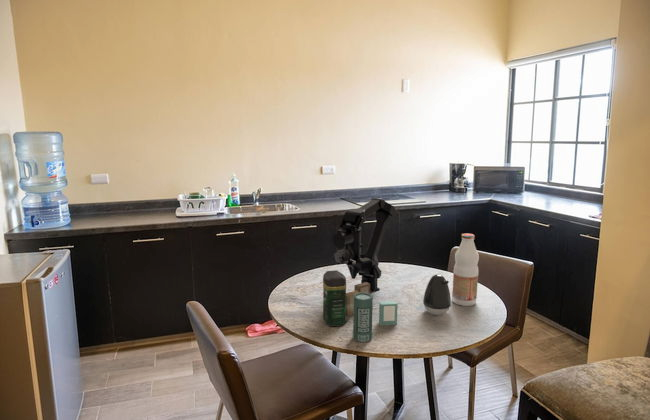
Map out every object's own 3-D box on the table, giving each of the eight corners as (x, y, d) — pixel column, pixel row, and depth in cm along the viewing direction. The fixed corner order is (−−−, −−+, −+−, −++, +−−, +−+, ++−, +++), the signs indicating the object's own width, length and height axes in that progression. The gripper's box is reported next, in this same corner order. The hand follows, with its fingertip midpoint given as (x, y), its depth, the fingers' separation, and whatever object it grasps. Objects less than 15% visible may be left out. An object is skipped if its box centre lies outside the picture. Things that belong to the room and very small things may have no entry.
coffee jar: (348, 326, 159) (348, 276, 156) (326, 328, 158) (326, 278, 154) (341, 314, 169) (341, 267, 165) (321, 316, 167) (320, 269, 163)
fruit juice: (456, 306, 175) (460, 238, 170) (448, 297, 185) (452, 231, 179) (479, 306, 176) (484, 237, 170) (471, 297, 185) (475, 231, 179)
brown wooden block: (354, 304, 178) (354, 285, 177) (365, 300, 182) (366, 282, 180) (358, 306, 176) (358, 287, 175) (370, 302, 180) (370, 284, 178)
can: (370, 333, 154) (371, 292, 151) (372, 342, 148) (373, 299, 145) (352, 333, 153) (353, 292, 150) (354, 342, 147) (354, 299, 145)
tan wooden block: (343, 313, 170) (343, 293, 168) (355, 310, 173) (356, 290, 171) (347, 316, 167) (347, 296, 166) (360, 312, 171) (360, 292, 169)
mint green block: (379, 322, 162) (379, 301, 161) (395, 321, 163) (395, 300, 161) (380, 325, 160) (381, 304, 158) (397, 324, 160) (397, 304, 159)
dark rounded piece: (435, 320, 163) (437, 281, 160) (417, 310, 172) (418, 272, 169) (456, 315, 168) (458, 276, 165) (437, 305, 177) (439, 268, 174)
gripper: (324, 239, 182) (324, 276, 186) (351, 250, 167) (351, 290, 170) (346, 235, 189) (345, 270, 192) (374, 246, 173) (373, 283, 176)
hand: (353, 278), depth 182 cm, fingers closed
